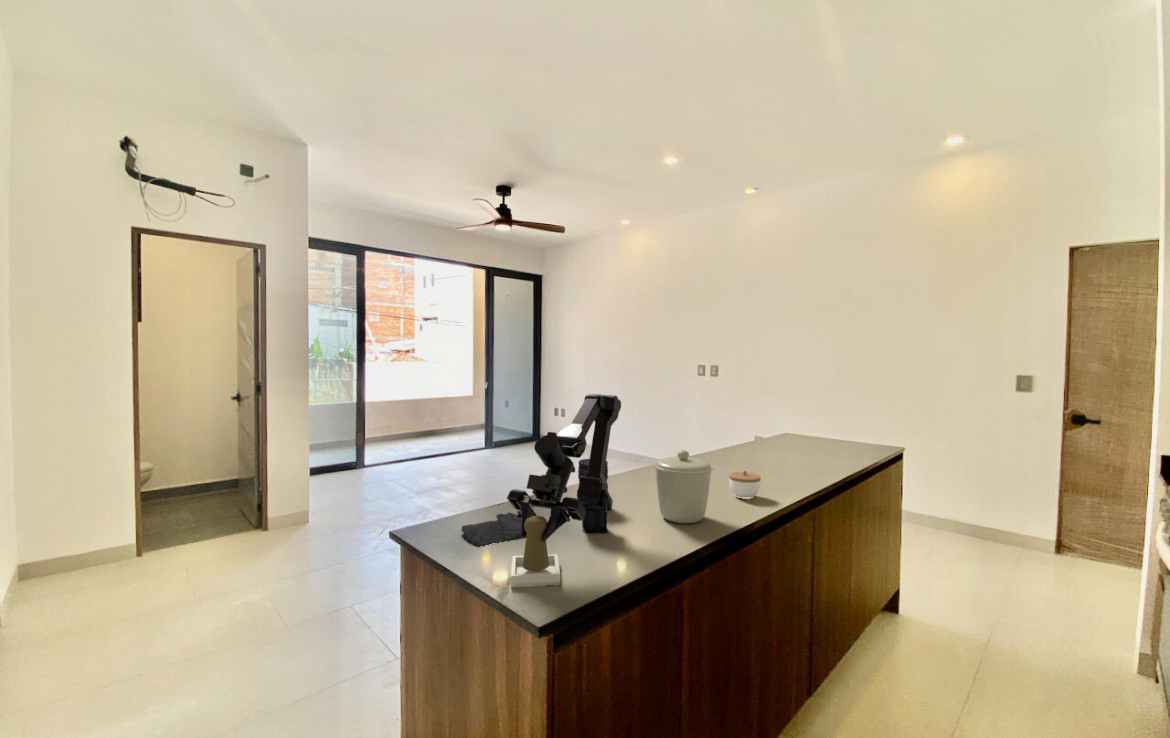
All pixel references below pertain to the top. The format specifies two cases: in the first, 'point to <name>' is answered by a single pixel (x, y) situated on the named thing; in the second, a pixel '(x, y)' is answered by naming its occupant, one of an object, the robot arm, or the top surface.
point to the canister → (683, 487)
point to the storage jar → (584, 468)
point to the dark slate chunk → (495, 530)
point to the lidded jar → (744, 484)
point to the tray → (535, 573)
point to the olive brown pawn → (535, 544)
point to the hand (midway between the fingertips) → (532, 538)
